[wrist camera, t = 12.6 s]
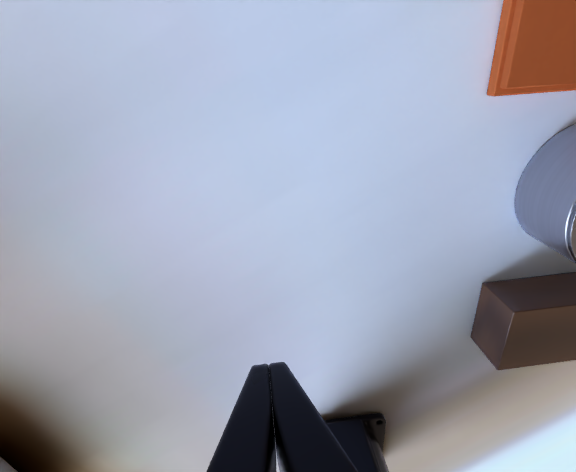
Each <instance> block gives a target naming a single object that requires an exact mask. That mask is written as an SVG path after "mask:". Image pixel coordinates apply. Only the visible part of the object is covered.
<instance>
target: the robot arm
mask: <svg viewBox="0 0 576 472" xmlns="http://www.w3.org/2000/svg"><path fill="white" fill-rule="evenodd" d="M269 374H270V376H269ZM270 385H271V387H270ZM271 397H272V399H271ZM272 408H273V410H272ZM273 420H274V422H273ZM385 424H386V421H385V418H384V415H383V414H381V413H376V414H369V415H362V416H355V417H348V418H341V419H333V420H326V421H324V420H323V418H322V417H321V415H320V414H319V412H318V411H317V409H316V408H315V406H314V405H313V404H312V402H311V401H310V399H309V398H308V396H307V395H306V393H305V392H304V390H303V389H302V387H301V386H300V384H299V383H298V381H297V380H296V378H295V377H294V375H293V374H292V372H291V371H290V369H289V368H288V366H287V365H286V364H285V363H284V362H278V363H271V364H270V365H269V366H268V365H267V364H261V365H254V366H252V368H251V370H250V372H249V374H248V377H247V379H246V381H245V384H244V386H243V388H242V391H241V393H240V395H239V398H238V400H237V402H236V405H235V407H234V409H233V412H232V414H231V416H230V418H229V421H228V423H227V425H226V428H225V430H224V432H223V435H222V437H221V439H220V442H219V444H218V446H217V449H216V451H215V453H214V456H213V458H212V460H211V462H210V465H209V467H208V469H207V472H276V452H277V459H278V465H279V470H280V472H389V471H388V468H387V465H386V462H385V459H384V457H383V444H384V434H385ZM274 431H275V433H274ZM275 442H276V445H275Z"/></svg>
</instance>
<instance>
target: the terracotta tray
mask: <svg viewBox="0 0 576 472" xmlns="http://www.w3.org/2000/svg"><path fill="white" fill-rule="evenodd" d="M571 90H576V0H504V1H503V7H502V12H501V18H500V23H499V29H498V35H497V40H496V46H495V51H494V57H493V62H492V68H491V74H490V79H489V85H488V90H487V95H490V96H503V95H517V94H530V93H544V92H557V91H571Z"/></svg>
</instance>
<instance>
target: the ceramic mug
mask: <svg viewBox="0 0 576 472" xmlns="http://www.w3.org/2000/svg"><path fill="white" fill-rule="evenodd" d="M0 472H17V471H16V470H15V469H14V468H13V467H11V466H10V465H9V464H8V463H7V462H6V461H5V460H3V459H2V458H1V457H0Z"/></svg>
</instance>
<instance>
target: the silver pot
mask: <svg viewBox="0 0 576 472" xmlns="http://www.w3.org/2000/svg"><path fill="white" fill-rule="evenodd" d="M515 212H516V216H517V219H518V221H519V224H520V225H521V227H522V228H523V229H524V230H525V231H526V232H527V233H528V234H529V235H531V236H532V237H534V238H535V239H537V240H539V241H540V242H542V243H544V244H545V245H547V246H548V247H550V248H552V249H553V250H555V251H557V252H558V253H560V254H562V255H563V256H565V257H566V258H568V259H570V260H571V261H573V262H575V263H576V124H574V125H572V126H570V127H568V128H566V129H564V130H562V131H561V132H559V133H558V134H556V135H555V136H554V137H552V138H551V139H550V140H549V141H547V142H546V143H545V144H544V145H543V146H542V147H541V148H540V149H539V150H538V151H537V153H536V154H535V155H534V156H533V157H532V159H531V160H530V162H529V163H528V164H527V166H526V168H525V170H524V171H523V173H522V176H521V178H520V180H519V183H518V186H517V190H516V195H515Z"/></svg>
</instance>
